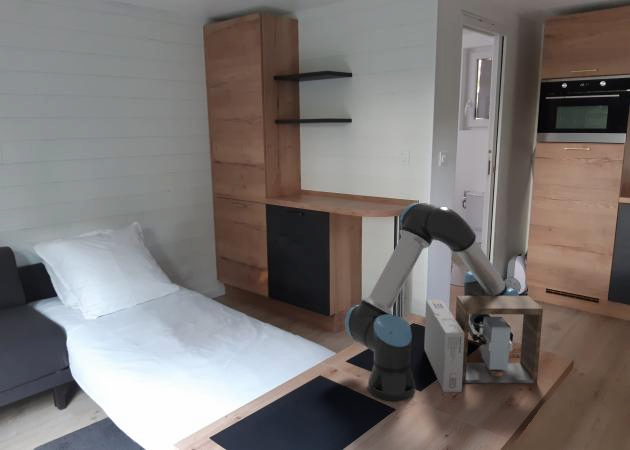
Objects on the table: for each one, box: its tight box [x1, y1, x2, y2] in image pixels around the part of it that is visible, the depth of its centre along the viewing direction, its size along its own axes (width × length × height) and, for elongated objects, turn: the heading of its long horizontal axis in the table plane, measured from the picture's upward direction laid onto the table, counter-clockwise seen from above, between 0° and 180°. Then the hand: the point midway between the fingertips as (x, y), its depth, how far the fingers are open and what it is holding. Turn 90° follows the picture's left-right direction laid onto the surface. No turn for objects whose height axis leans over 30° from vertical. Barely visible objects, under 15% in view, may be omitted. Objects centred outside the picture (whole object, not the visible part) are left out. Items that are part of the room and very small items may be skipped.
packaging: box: [423, 299, 464, 393], centre depth 170 cm, size 30×6×20 cm, turn 179°
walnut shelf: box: [455, 295, 544, 384], centre depth 165 cm, size 24×12×26 cm, turn 88°
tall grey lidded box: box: [481, 316, 511, 370], centre depth 166 cm, size 6×9×15 cm, turn 178°
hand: (500, 347), depth 160 cm, fingers closed on tall grey lidded box, 6 cm apart
